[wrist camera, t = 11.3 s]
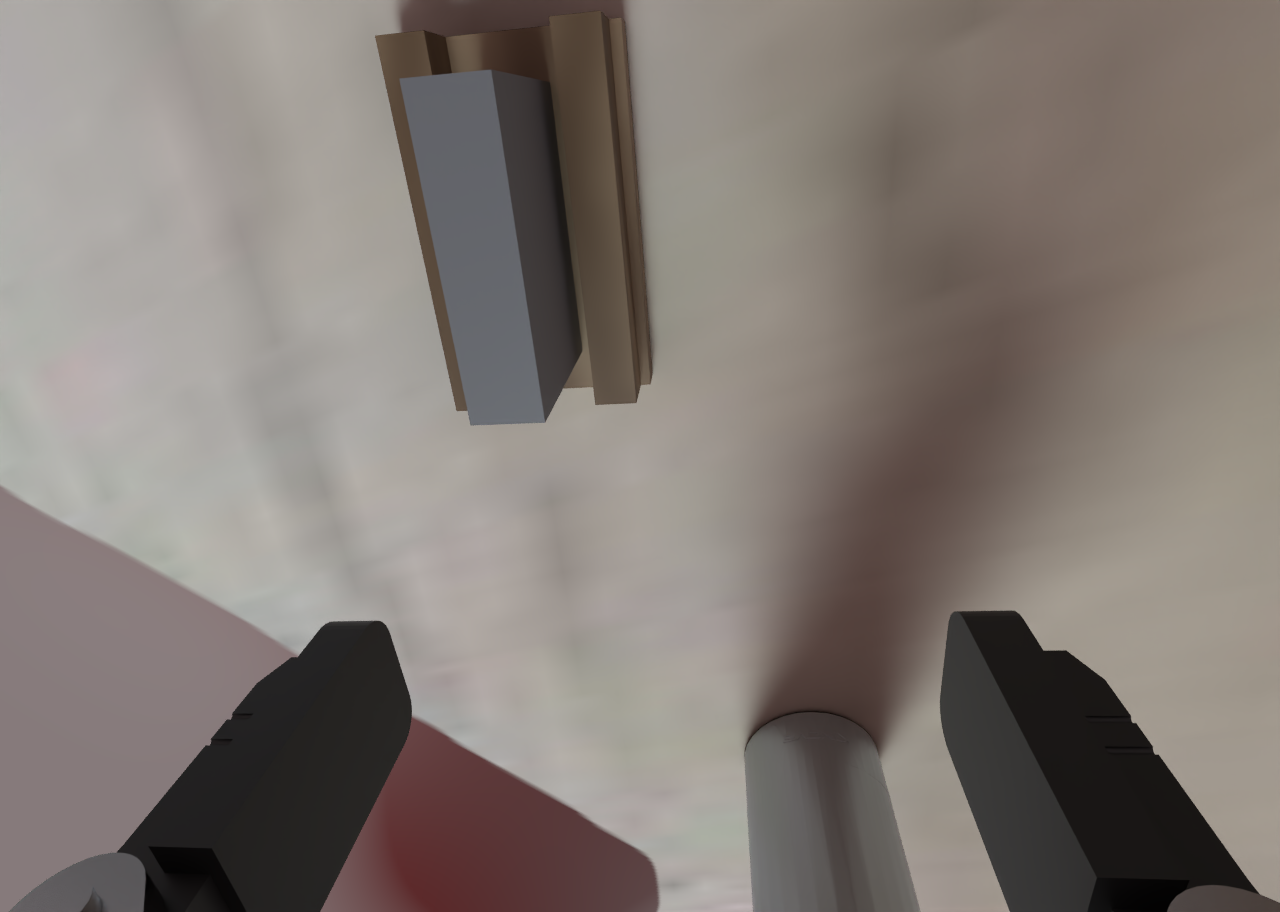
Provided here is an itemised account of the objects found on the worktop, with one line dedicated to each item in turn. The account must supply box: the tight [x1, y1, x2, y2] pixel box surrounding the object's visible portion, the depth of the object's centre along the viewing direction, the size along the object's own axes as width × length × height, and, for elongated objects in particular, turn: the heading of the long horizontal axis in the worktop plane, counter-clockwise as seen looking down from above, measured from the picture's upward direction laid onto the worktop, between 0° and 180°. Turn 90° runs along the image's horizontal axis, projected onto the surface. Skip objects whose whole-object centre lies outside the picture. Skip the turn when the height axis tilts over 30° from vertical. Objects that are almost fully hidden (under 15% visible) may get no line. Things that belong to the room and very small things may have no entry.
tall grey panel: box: [399, 70, 582, 425], centre depth 28 cm, size 3×12×9 cm, turn 4°
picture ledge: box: [375, 11, 652, 411], centre depth 32 cm, size 10×16×4 cm, turn 5°
